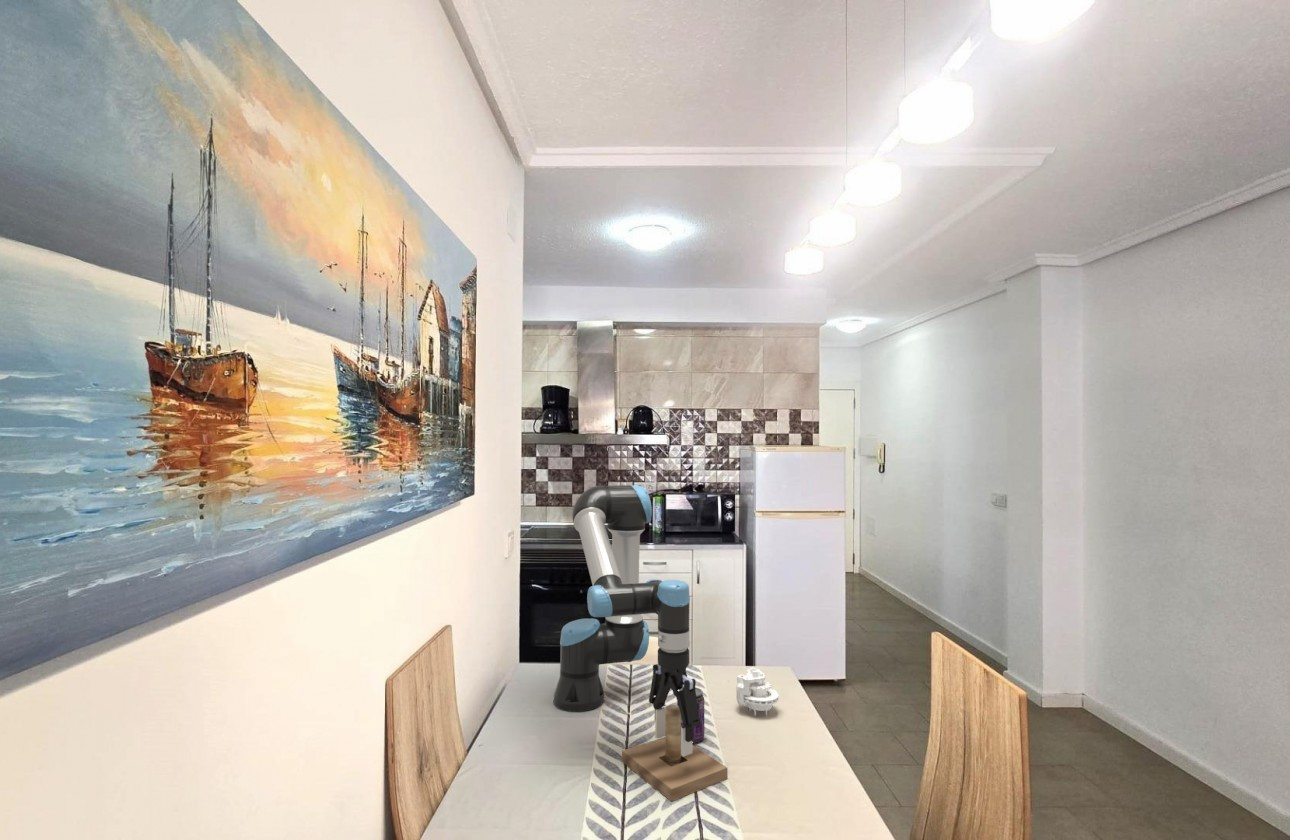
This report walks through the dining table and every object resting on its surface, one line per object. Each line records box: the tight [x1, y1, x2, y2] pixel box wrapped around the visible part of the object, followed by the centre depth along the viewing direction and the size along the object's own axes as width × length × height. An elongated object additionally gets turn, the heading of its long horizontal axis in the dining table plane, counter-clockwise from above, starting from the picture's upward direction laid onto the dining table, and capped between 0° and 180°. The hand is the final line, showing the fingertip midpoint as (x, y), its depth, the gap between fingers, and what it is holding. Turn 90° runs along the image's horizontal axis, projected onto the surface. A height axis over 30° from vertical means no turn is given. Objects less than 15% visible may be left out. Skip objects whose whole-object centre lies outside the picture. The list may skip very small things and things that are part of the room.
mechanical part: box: [735, 667, 779, 717], centre depth 171 cm, size 11×12×12 cm
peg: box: [665, 704, 681, 766], centre depth 139 cm, size 4×4×14 cm
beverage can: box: [676, 686, 705, 743], centre depth 154 cm, size 7×7×12 cm
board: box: [621, 737, 729, 802], centre depth 138 cm, size 20×16×2 cm
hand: (673, 745), depth 138 cm, fingers open, 9 cm apart
